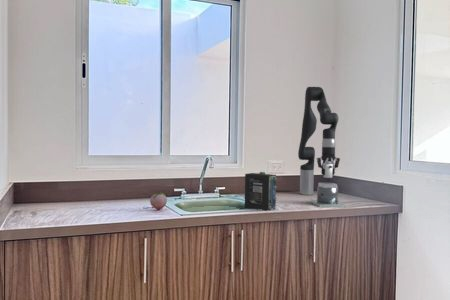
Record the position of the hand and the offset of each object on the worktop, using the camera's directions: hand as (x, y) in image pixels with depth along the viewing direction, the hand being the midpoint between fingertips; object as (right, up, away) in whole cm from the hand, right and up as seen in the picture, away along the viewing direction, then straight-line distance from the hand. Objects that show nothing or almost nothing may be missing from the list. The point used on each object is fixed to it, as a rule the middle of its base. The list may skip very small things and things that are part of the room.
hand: (327, 174), depth 225 cm
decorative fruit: (-97, -17, -24) cm, 101 cm away
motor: (0, -18, +1) cm, 18 cm away
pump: (0, -1, 0) cm, 1 cm away
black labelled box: (-42, -18, -14) cm, 47 cm away
